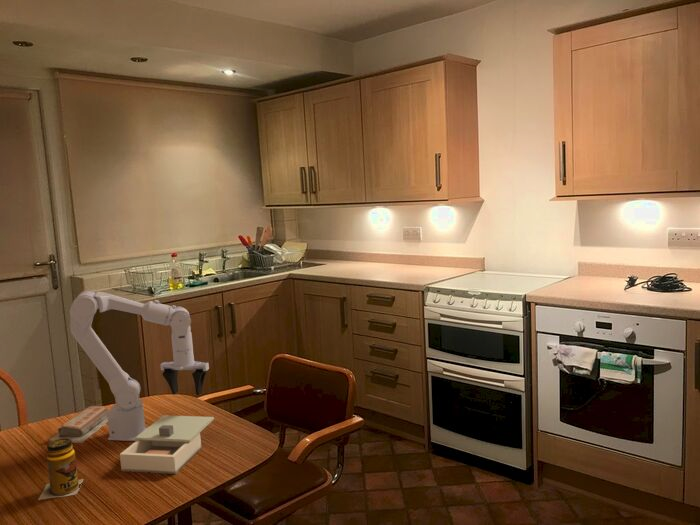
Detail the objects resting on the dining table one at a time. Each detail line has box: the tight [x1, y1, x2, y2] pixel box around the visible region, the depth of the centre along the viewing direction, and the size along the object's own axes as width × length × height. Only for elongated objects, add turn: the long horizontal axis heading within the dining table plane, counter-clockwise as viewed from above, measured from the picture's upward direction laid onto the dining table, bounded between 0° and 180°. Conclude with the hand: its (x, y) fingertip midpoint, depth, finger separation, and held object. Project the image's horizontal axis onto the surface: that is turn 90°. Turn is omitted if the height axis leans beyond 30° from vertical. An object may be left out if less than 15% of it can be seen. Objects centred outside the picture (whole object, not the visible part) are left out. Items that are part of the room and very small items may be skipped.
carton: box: [119, 432, 202, 475], centre depth 151 cm, size 15×14×4 cm
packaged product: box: [49, 405, 109, 444], centre depth 173 cm, size 18×5×10 cm
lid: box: [135, 414, 215, 442], centre depth 158 cm, size 16×15×3 cm
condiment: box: [37, 438, 84, 501], centre depth 137 cm, size 7×8×12 cm
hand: (187, 393), depth 171 cm, fingers open, 7 cm apart
